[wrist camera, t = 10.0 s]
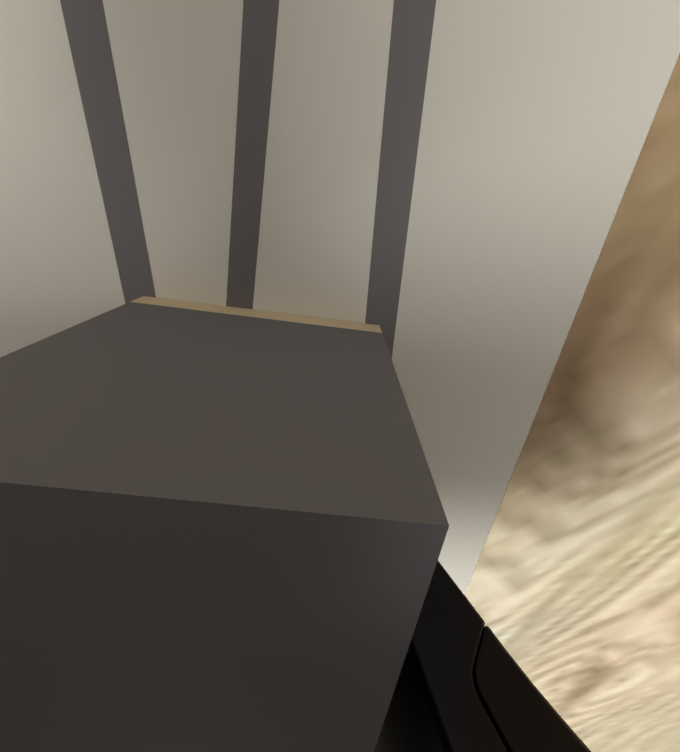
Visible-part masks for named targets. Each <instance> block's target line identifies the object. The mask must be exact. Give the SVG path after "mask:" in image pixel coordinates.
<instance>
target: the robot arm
mask: <svg viewBox="0 0 680 752" xmlns="http://www.w3.org/2000/svg"><path fill="white" fill-rule="evenodd" d="M484 625H485V622H484V620H483V619H482V618H481V616H480V615H479V614H478V612H477V611H476V610H475V608H474V607H473V606H472V604H471V603H470V602H469V601H468V599H467V598H466V597H465V595H464V594H463V593H462V591H461V590H460V589H459V587H458V586H457V585H456V583H455V582H454V581H453V579H452V578H451V577H450V575H449V574H448V573H447V571H446V570H445V569H444V567H443V566H442V565H441V563H440V562H439V561H437V564H436V567H435V570H434V573H433V576H432V579H431V582H430V585H429V588H428V591H427V594H426V597H425V600H424V603H423V606H422V609H421V612H420V615H419V618H418V621H417V624H416V627H415V630H414V633H413V636H412V639H411V642H410V645H409V648H408V651H407V654H406V657H405V660H404V663H403V666H402V669H401V672H400V675H399V678H398V681H397V684H396V687H395V690H394V693H393V696H392V699H391V702H390V705H389V708H388V711H387V714H386V717H385V720H384V723H383V726H382V729H381V732H380V735H379V738H378V741H377V744H376V747H375V750H374V752H591V751H590V750H589V749H588V747H587V746H586V745H585V744H584V743H583V742H582V741H581V739H580V738H579V737H578V736H577V735H576V734H575V733H574V731H573V730H572V729H571V728H570V727H569V726H568V725H567V723H566V722H565V721H564V720H563V719H562V718H561V716H560V715H559V714H558V713H557V712H556V710H555V709H554V708H553V707H552V706H551V705H550V703H549V702H548V701H547V700H546V699H545V698H544V696H543V695H542V694H541V693H540V692H539V690H538V689H537V688H536V687H535V686H534V685H533V683H532V682H531V681H530V680H529V678H528V677H527V676H526V674H525V673H524V672H523V671H522V669H521V668H520V667H519V666H518V664H517V663H516V662H515V661H514V659H513V658H512V657H511V655H510V654H509V653H508V652H507V650H506V649H505V648H504V647H503V645H502V644H501V643H500V641H499V640H498V639H497V637H496V636H495V635H494V633H493V632H492V631H491V629H490V628H489V627H488V626H485V627H484Z"/></svg>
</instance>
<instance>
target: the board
mask: <svg viewBox="0 0 680 752" xmlns="http://www.w3.org/2000/svg"><path fill="white" fill-rule="evenodd" d="M679 54H680V0H0V357H2V356H5V355H7V354H9V353H12V352H14V351H16V350H19V349H21V348H23V347H26V346H28V345H30V344H33V343H35V342H37V341H40V340H42V339H44V338H47V337H49V336H51V335H54V334H56V333H58V332H61V331H63V330H65V329H68V328H70V327H72V326H75V325H77V324H79V323H82V322H84V321H86V320H89V319H91V318H93V317H96V316H98V315H100V314H103V313H105V312H107V311H110V310H112V309H114V308H117V307H119V306H121V305H124V304H126V303H128V302H131V301H133V300H135V299H138V298H140V297H142V296H149V297H157V298H165V299H173V300H181V301H189V302H197V303H205V304H213V305H221V306H229V307H237V308H245V309H253V310H261V311H269V312H277V313H285V314H293V315H301V316H309V317H317V318H325V319H333V320H341V321H349V322H357V323H366V324H374V325H380V328H381V331H382V334H383V336H384V339H385V342H386V345H387V348H388V351H389V354H390V357H391V359H392V362H393V365H394V368H395V371H396V374H397V377H398V380H399V383H400V385H401V388H402V391H403V394H404V397H405V400H406V403H407V406H408V408H409V411H410V414H411V417H412V420H413V423H414V426H415V429H416V431H417V434H418V437H419V440H420V443H421V446H422V449H423V452H424V454H425V457H426V460H427V463H428V466H429V469H430V472H431V475H432V478H433V480H434V483H435V486H436V489H437V492H438V495H439V498H440V501H441V503H442V506H443V509H444V512H445V515H446V518H447V521H448V524H449V528H448V531H447V534H446V537H445V540H444V543H443V546H442V549H441V552H440V555H439V558H438V561H439V562H440V563H441V565H442V566H443V567H444V569H445V570H446V571H447V573H448V574H449V575H450V577H451V578H452V579H453V581H454V582H455V583H456V585H457V586H458V587H459V589H460V590H461V591H462V593H463V594H465V592H466V589H467V587H468V584H469V582H470V579H471V577H472V574H473V572H474V569H475V567H476V564H477V562H478V559H479V557H480V554H481V552H482V549H483V547H484V544H485V542H486V539H487V537H488V534H489V532H490V529H491V527H492V524H493V521H494V519H495V516H496V514H497V511H498V509H499V506H500V504H501V501H502V499H503V496H504V494H505V491H506V489H507V486H508V484H509V481H510V479H511V476H512V474H513V471H514V469H515V466H516V464H517V461H518V459H519V456H520V454H521V451H522V449H523V446H524V444H525V441H526V439H527V436H528V433H529V431H530V428H531V426H532V423H533V421H534V418H535V416H536V413H537V411H538V408H539V406H540V403H541V401H542V398H543V396H544V393H545V391H546V388H547V386H548V383H549V381H550V378H551V376H552V373H553V371H554V368H555V366H556V363H557V361H558V358H559V356H560V353H561V351H562V348H563V345H564V343H565V340H566V338H567V335H568V333H569V330H570V328H571V325H572V323H573V320H574V318H575V315H576V313H577V310H578V308H579V305H580V303H581V300H582V298H583V295H584V293H585V290H586V288H587V285H588V283H589V280H590V278H591V275H592V273H593V270H594V268H595V265H596V263H597V260H598V257H599V255H600V252H601V250H602V247H603V245H604V242H605V240H606V237H607V235H608V232H609V230H610V227H611V225H612V222H613V220H614V217H615V215H616V212H617V210H618V207H619V205H620V202H621V200H622V197H623V195H624V192H625V190H626V187H627V185H628V182H629V180H630V177H631V175H632V172H633V170H634V167H635V164H636V162H637V159H638V157H639V154H640V152H641V149H642V147H643V144H644V142H645V139H646V137H647V134H648V132H649V129H650V127H651V124H652V122H653V119H654V117H655V114H656V112H657V109H658V107H659V104H660V102H661V99H662V97H663V94H664V92H665V89H666V87H667V84H668V82H669V79H670V76H671V74H672V71H673V69H674V66H675V64H676V61H677V59H678V56H679Z"/></svg>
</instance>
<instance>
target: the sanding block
mask: <svg viewBox="0 0 680 752" xmlns="http://www.w3.org/2000/svg"><path fill="white" fill-rule="evenodd" d="M448 528H449V524H448V521H447V518H446V515H445V512H444V509H443V506H442V503H441V501H440V498H439V495H438V492H437V489H436V486H435V483H434V480H433V478H432V475H431V472H430V469H429V466H428V463H427V460H426V457H425V454H424V452H423V449H422V446H421V443H420V440H419V437H418V434H417V431H416V429H415V426H414V423H413V420H412V417H411V414H410V411H409V408H408V406H407V403H406V400H405V397H404V394H403V391H402V388H401V385H400V383H399V380H398V377H397V374H396V371H395V368H394V365H393V362H392V359H391V357H390V354H389V351H388V348H387V345H386V342H385V339H384V336H383V334H382V331H381V328H380V325H374V324H366V323H357V322H349V321H341V320H333V319H325V318H317V317H309V316H301V315H293V314H285V313H277V312H269V311H261V310H253V309H245V308H237V307H229V306H221V305H213V304H205V303H197V302H189V301H181V300H173V299H165V298H157V297H149V296H142V297H140V298H138V299H135V300H133V301H131V302H128V303H126V304H124V305H121V306H119V307H117V308H114V309H112V310H110V311H107V312H105V313H103V314H100V315H98V316H96V317H93V318H91V319H89V320H86V321H84V322H82V323H79V324H77V325H75V326H72V327H70V328H68V329H65V330H63V331H61V332H58V333H56V334H54V335H51V336H49V337H47V338H44V339H42V340H40V341H37V342H35V343H33V344H30V345H28V346H26V347H23V348H21V349H19V350H16V351H14V352H12V353H9V354H7V355H5V356H2V357H0V752H374V750H375V747H376V744H377V741H378V738H379V735H380V732H381V729H382V726H383V723H384V720H385V717H386V714H387V711H388V708H389V705H390V702H391V699H392V696H393V693H394V690H395V687H396V684H397V681H398V678H399V675H400V672H401V669H402V666H403V663H404V660H405V657H406V654H407V651H408V648H409V645H410V642H411V639H412V636H413V633H414V630H415V627H416V624H417V621H418V618H419V615H420V612H421V609H422V606H423V603H424V600H425V597H426V594H427V591H428V588H429V585H430V582H431V579H432V576H433V573H434V570H435V567H436V564H437V561H438V558H439V555H440V552H441V549H442V546H443V543H444V540H445V537H446V534H447V531H448Z"/></svg>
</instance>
